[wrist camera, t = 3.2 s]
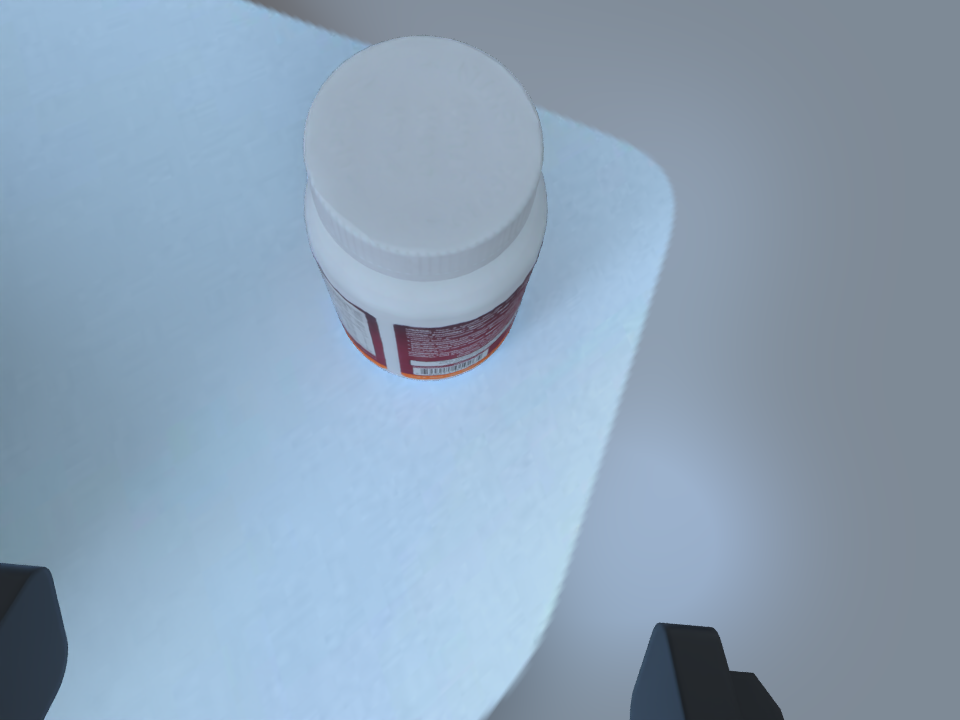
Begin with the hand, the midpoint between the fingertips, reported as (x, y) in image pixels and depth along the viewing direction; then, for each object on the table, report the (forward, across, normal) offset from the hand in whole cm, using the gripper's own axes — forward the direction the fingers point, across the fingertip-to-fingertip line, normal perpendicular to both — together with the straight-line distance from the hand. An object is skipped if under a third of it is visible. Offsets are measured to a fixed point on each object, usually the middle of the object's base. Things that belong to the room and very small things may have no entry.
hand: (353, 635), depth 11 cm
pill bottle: (+18, 0, +4) cm, 18 cm away
